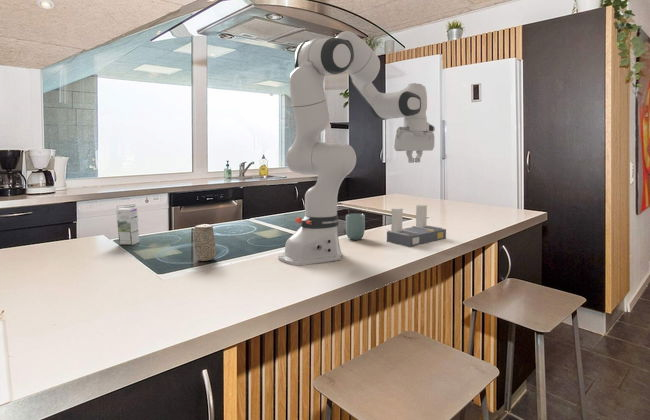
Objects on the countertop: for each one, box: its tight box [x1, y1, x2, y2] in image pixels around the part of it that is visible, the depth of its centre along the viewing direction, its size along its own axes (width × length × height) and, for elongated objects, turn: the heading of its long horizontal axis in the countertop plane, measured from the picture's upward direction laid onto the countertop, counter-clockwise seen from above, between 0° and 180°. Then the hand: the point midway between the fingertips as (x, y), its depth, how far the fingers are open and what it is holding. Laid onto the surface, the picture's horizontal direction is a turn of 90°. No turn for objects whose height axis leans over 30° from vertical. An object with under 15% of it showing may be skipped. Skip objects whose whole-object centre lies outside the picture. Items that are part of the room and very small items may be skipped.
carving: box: [193, 223, 217, 262], centre depth 144 cm, size 6×8×12 cm
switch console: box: [386, 224, 447, 248], centre depth 172 cm, size 22×12×4 cm, turn 128°
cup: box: [345, 213, 366, 241], centre depth 175 cm, size 8×8×10 cm
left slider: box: [390, 207, 403, 232], centre depth 169 cm, size 3×3×9 cm
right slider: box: [415, 204, 428, 227], centre depth 178 cm, size 3×3×9 cm
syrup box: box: [115, 206, 140, 246], centre depth 170 cm, size 6×6×14 cm
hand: (414, 162), depth 169 cm, fingers open, 2 cm apart
